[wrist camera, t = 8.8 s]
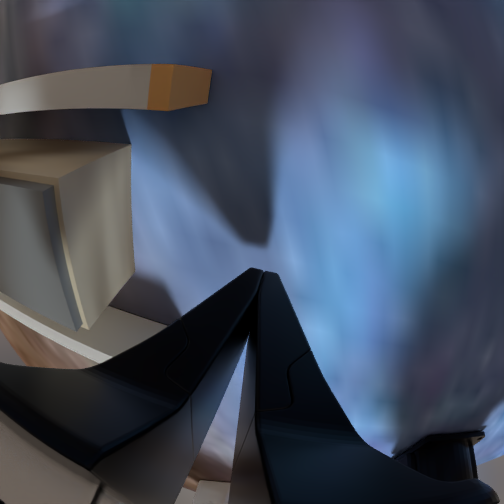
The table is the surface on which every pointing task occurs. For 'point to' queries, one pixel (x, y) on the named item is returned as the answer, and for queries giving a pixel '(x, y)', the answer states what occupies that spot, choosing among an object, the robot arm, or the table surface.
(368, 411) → the table surface
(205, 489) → the jar
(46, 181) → the grey beige block
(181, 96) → the frame
